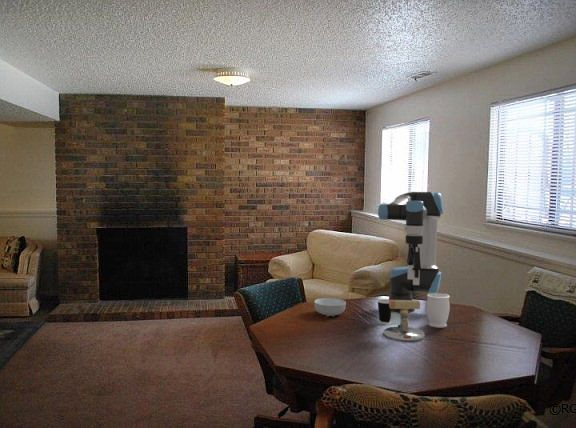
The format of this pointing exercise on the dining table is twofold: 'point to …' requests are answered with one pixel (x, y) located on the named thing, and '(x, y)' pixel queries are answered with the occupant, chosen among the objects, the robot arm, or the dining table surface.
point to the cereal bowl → (329, 306)
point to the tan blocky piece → (404, 308)
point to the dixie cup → (384, 311)
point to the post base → (404, 333)
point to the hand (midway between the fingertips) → (413, 282)
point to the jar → (438, 309)
